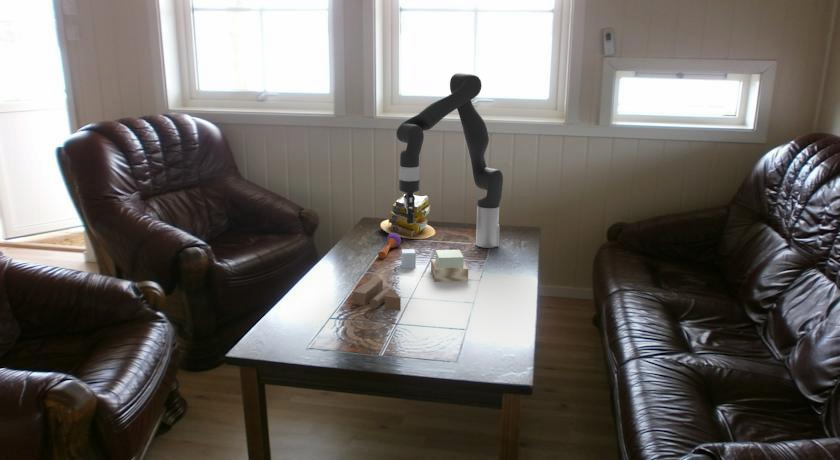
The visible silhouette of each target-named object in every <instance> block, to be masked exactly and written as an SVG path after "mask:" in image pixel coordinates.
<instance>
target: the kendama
mask: <svg viewBox="0 0 840 460" xmlns="http://www.w3.org/2000/svg"><path fill="white" fill-rule="evenodd" d="M401 238H402V237H400V236H399V235H398V234H396V233H391V234H390V233H389V234H388V235H387V237H386V246H385V247H384V248H383V249H381V250H380V251H379V252H378V253H377V256H378V258H379V259H382V258H383V259H386V257H387V255H388V252H389V250H390V249H391V248H392V249H393V248H397V247H399V246H400V245H401V241H402V239H401ZM383 259H382V260H383Z"/></svg>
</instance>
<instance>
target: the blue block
mask: <svg viewBox="0 0 840 460" xmlns="http://www.w3.org/2000/svg"><path fill="white" fill-rule="evenodd" d="M416 254H417V253H416V251H415V249H414V248H410V249H407V248H405V249H404V248H403V249H401V255H400V257H401V258H400V259H401V260H400V261H401V262H400V263H401V267H402V269H416V266H417V265H416V263H417V262H416V261H417V259H416V257H417V255H416Z"/></svg>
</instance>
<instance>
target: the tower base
mask: <svg viewBox="0 0 840 460" xmlns="http://www.w3.org/2000/svg"><path fill="white" fill-rule="evenodd" d="M430 273H431V275H432V277H433V280H434V282H435V283H436V282H437V283H438V282H439V283H440V282H441V283H442V282H445V283H446V282H469V267H468V265H467V264H466V262H465V261H464V263H463V268H438V265H437V263H436V258H432V259H430Z"/></svg>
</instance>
